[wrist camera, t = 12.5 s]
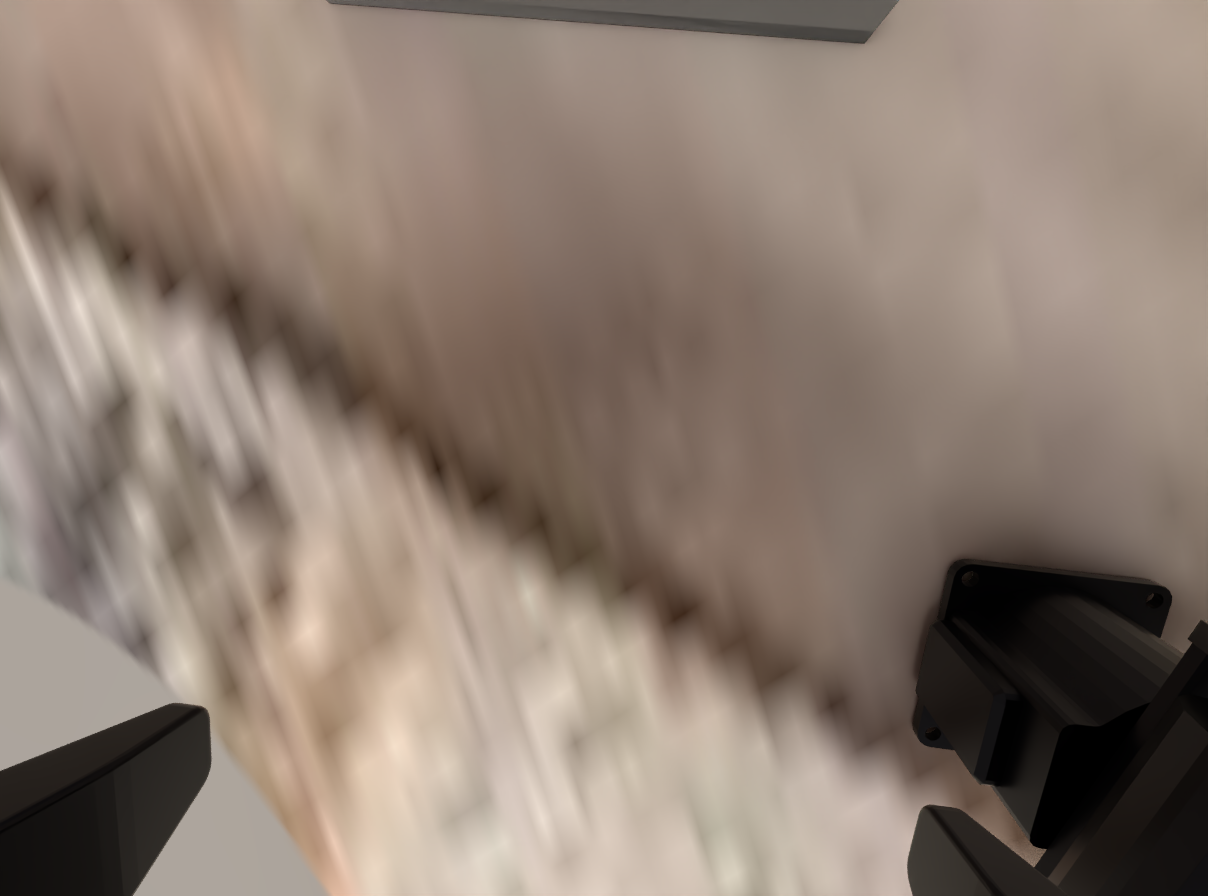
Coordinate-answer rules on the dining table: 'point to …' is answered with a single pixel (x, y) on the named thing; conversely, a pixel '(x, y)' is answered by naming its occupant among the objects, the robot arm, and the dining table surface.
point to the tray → (686, 14)
